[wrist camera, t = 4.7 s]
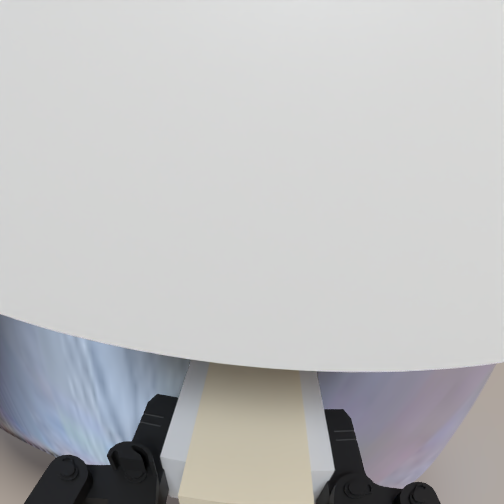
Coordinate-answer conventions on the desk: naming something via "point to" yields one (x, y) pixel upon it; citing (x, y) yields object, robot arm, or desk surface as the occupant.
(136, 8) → the white open box
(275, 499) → the tethered block
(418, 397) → the desk surface
